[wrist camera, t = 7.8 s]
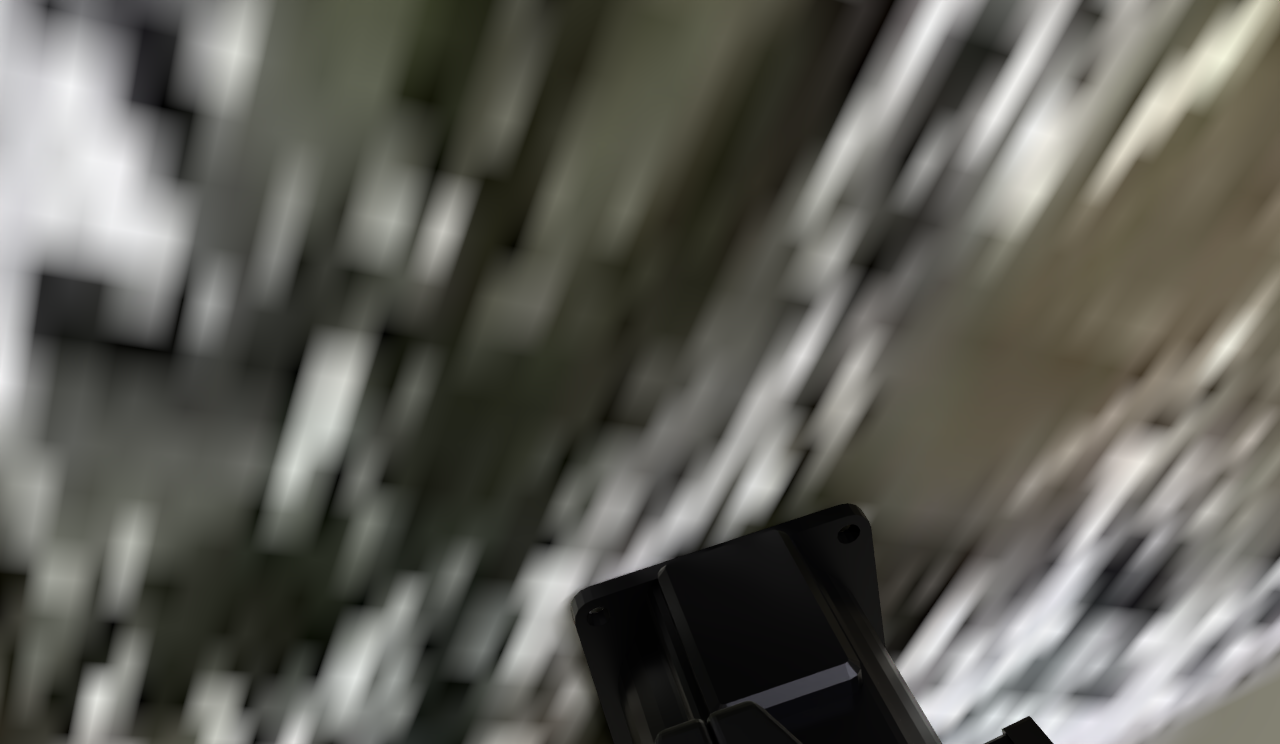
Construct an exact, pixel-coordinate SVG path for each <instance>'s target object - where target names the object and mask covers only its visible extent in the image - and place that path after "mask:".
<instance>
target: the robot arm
mask: <svg viewBox="0 0 1280 744" xmlns="http://www.w3.org/2000/svg"><path fill="white" fill-rule="evenodd" d="M847 525H851V526H850V527H849V528H848V529H846V530H845V531H843V532H839V531H840V530H841V529H842V528H843V527H845V526H847ZM599 607H603V610H601V611H599V612H597V613H589V612H590V611H591V610H593V609H595V608H599ZM571 611H572V615H573V618H574V622H575V625H576V628H577V631H578V635H579V638H580V641H581V644H582V647H583V650H584V653H585V656H586V659H587V662H588V665H589V668H590V671H591V674H592V678H593V681H594V684H595V687H596V690H597V693H598V696H599V699H600V702H601V705H602V708H603V711H604V714H605V718H606V721H607V724H608V727H609V730H610V733H611V736H612V739H613V742H614V744H942V743H941V741H940V739H939V738H938V736H937V734H936V733H935V731H934V729H933V728H932V726H931V724H930V723H929V721H928V719H927V717H926V716H925V714H924V712H923V711H922V709H921V707H920V706H919V704H918V702H917V701H916V699H915V697H914V696H913V694H912V692H911V691H910V689H909V687H908V686H907V684H906V682H905V681H904V679H903V677H902V676H901V674H900V672H899V671H898V669H897V667H896V666H895V664H894V662H893V660H892V659H891V657H890V655H889V654H888V652H887V650H886V649H885V642H884V633H883V625H882V616H881V608H880V599H879V591H878V582H877V574H876V565H875V557H874V548H873V540H872V531H871V526H870V523H869V521H868V519H867V518H866V516H865V515H864V513H863V512H862V510H861V509H860V508H859V507H857V506H856V505H853V504H848V503H847V504H841V505H837V506H834V507H831V508H828V509H825V510H822V511H819V512H816V513H813V514H810V515H807V516H804V517H801V518H797V519H794V520H791V521H788V522H785V523H782V524H779V525H776V526H773V527H770V528H767V529H764V530H761V531H758V532H755V533H752V534H749V535H746V536H743V537H739V538H736V539H733V540H730V541H727V542H724V543H721V544H718V545H715V546H712V547H709V548H706V549H703V550H700V551H697V552H694V553H691V554H688V555H684V556H681V557H678V558H675V559H672V560H669V561H666V562H663V563H660V564H657V565H654V566H651V567H648V568H645V569H642V570H639V571H636V572H633V573H630V574H626V575H623V576H620V577H617V578H614V579H611V580H608V581H605V582H602V583H599V584H596V585H593V586H590V587H588V588H586V589H584V590H582V591H580V592H579V593H578V594H577V595H576V596H575V597H574V599H573V601H572V604H571ZM1002 732H1003V735H1001V736H999V737H997V738H995V739H993V740H991V741H989V742H987V743H985V744H1053V743H1052V742H1051V740H1050V739H1049V738H1048V737H1047V736H1046V735H1045V733H1044V732H1043V731H1042V730H1041V729H1040V727H1039V726H1038V725H1037V724H1036V723H1035V722H1034V720H1033V719H1032V718H1031V717H1030V716H1028V717H1026V718H1024V719H1022V720H1020V721H1018V722H1016V723H1014V724H1011V725H1009V726H1007V727H1005V728H1003V729H1002Z"/></svg>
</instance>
